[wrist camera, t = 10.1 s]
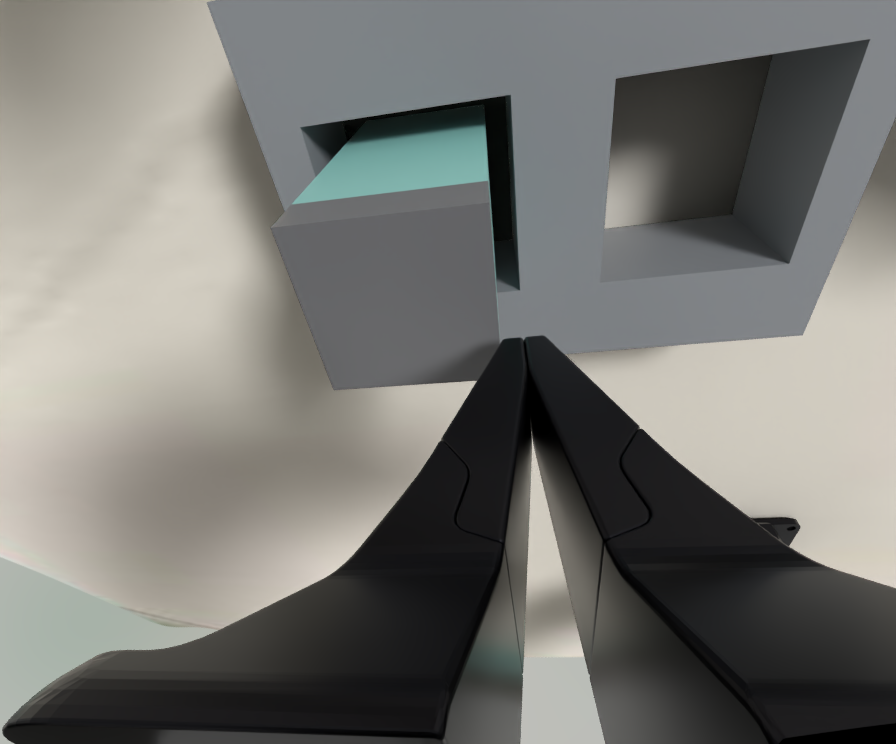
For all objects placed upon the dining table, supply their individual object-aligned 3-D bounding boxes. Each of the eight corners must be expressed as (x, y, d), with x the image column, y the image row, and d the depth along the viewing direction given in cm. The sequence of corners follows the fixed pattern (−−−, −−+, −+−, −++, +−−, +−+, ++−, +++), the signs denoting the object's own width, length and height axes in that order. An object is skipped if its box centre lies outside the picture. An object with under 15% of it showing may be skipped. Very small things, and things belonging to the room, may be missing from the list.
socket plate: (748, 278, 18) (802, 334, 15) (364, 314, 20) (343, 371, 17) (868, -117, 11) (1012, -158, 8) (269, 1, 13) (206, 2, 10)
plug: (492, 223, 17) (502, 378, 10) (391, 234, 18) (333, 390, 11) (483, 104, 15) (489, 203, 8) (366, 121, 15) (270, 227, 8)
